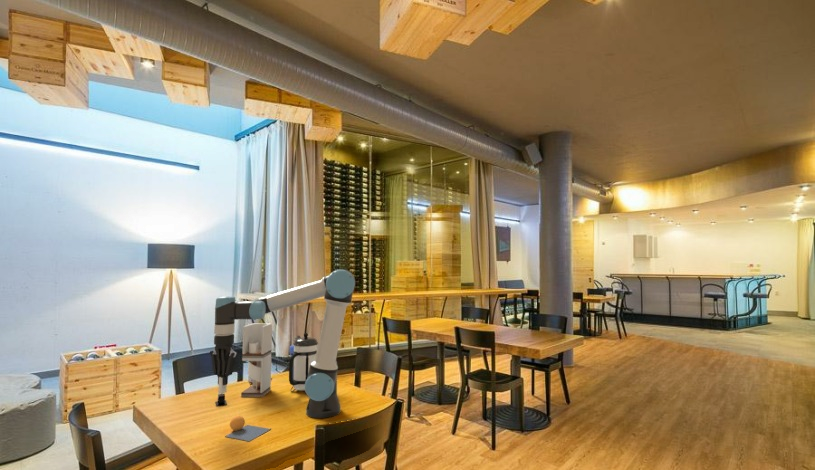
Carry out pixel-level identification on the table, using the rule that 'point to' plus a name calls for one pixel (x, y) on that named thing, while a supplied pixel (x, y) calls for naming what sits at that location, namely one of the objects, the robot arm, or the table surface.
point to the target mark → (248, 433)
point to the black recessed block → (221, 400)
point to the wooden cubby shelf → (258, 357)
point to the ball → (237, 423)
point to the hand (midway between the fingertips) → (222, 392)
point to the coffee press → (301, 361)
